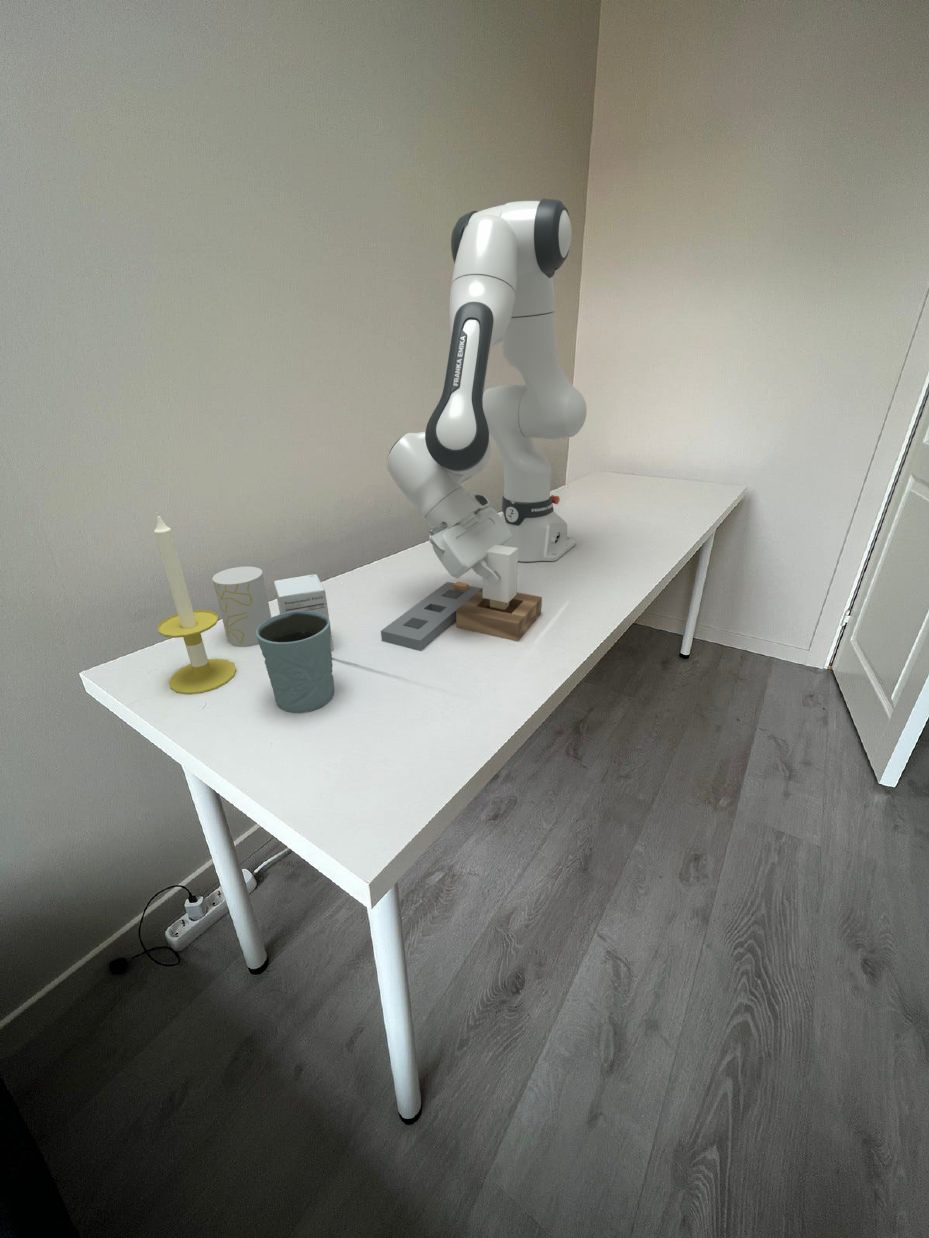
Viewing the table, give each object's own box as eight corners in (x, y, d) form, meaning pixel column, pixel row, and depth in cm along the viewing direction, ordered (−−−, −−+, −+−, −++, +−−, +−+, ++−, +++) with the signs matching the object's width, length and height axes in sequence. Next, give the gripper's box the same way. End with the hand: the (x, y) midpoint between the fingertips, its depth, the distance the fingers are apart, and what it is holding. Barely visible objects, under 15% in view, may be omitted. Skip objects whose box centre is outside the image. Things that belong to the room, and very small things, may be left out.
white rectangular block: (491, 599, 101) (492, 544, 96) (516, 604, 99) (518, 548, 94) (482, 607, 98) (483, 550, 93) (507, 613, 96) (509, 555, 91)
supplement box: (285, 645, 95) (272, 579, 89) (327, 637, 97) (318, 572, 91) (290, 665, 89) (277, 596, 83) (335, 656, 91) (325, 588, 85)
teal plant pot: (274, 722, 75) (258, 649, 70) (267, 685, 83) (252, 617, 78) (346, 704, 79) (336, 633, 73) (332, 671, 87) (322, 604, 81)
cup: (217, 642, 96) (201, 580, 90) (248, 622, 103) (235, 564, 97) (254, 649, 93) (240, 586, 88) (283, 629, 100) (272, 569, 95)
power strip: (447, 594, 113) (447, 578, 111) (481, 601, 110) (481, 585, 108) (382, 645, 94) (380, 627, 92) (421, 655, 91) (419, 636, 89)
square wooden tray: (484, 606, 108) (484, 586, 106) (540, 618, 103) (542, 597, 101) (456, 632, 98) (456, 610, 96) (517, 646, 93) (518, 623, 91)
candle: (188, 659, 91) (142, 503, 78) (246, 660, 90) (209, 502, 78) (156, 694, 82) (99, 523, 69) (220, 694, 81) (174, 523, 69)
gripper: (435, 521, 85) (490, 588, 85) (489, 493, 101) (535, 549, 102) (413, 543, 89) (465, 608, 89) (468, 513, 105) (512, 568, 105)
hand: (503, 576), depth 96 cm, fingers closed on white rectangular block, 4 cm apart
